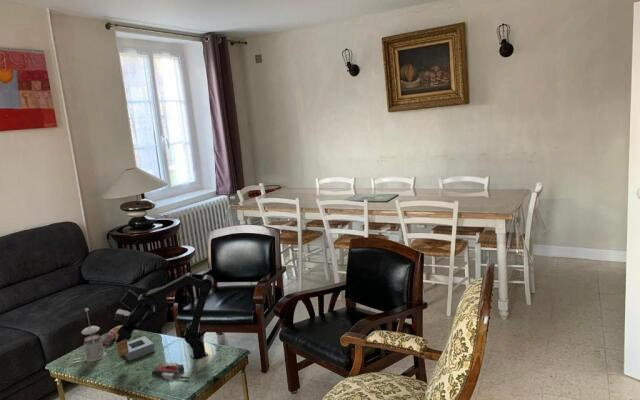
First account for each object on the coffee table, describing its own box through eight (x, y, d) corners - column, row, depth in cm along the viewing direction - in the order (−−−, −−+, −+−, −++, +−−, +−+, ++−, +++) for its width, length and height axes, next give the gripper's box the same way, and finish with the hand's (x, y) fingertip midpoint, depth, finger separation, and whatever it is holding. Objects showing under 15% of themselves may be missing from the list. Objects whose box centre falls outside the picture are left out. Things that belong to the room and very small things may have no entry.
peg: (129, 353, 218) (124, 328, 216) (118, 356, 216) (113, 330, 214) (128, 349, 222) (123, 324, 220) (118, 352, 220) (113, 327, 218)
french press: (84, 363, 227) (74, 314, 223) (85, 353, 238) (75, 306, 233) (106, 357, 231) (97, 309, 227) (106, 347, 242) (97, 301, 237)
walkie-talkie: (148, 378, 209) (188, 382, 203) (147, 369, 209) (186, 373, 202) (161, 367, 218) (199, 371, 211) (159, 358, 217) (198, 362, 210)
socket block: (154, 351, 233) (153, 343, 233) (129, 360, 226) (128, 352, 225) (146, 343, 243) (144, 335, 242) (121, 352, 235) (120, 344, 235)
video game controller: (109, 347, 246) (113, 335, 245) (100, 344, 245) (104, 332, 244) (117, 338, 256) (121, 326, 254) (109, 335, 255) (112, 323, 254)
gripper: (129, 296, 225) (108, 321, 225) (118, 312, 207) (96, 339, 207) (149, 309, 227) (128, 334, 228) (140, 326, 209) (118, 353, 210)
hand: (118, 340), depth 218 cm, fingers closed on peg, 4 cm apart
